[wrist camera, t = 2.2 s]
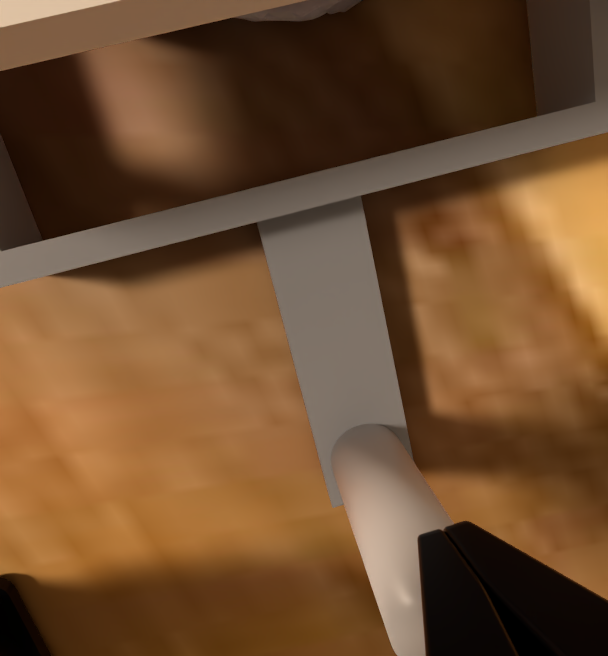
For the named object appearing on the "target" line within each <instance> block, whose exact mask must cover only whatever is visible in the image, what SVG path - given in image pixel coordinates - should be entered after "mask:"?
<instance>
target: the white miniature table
mask: <svg viewBox="0 0 608 656" xmlns="http://www.w3.org/2000/svg"><path fill="white" fill-rule="evenodd" d="M302 1H306V0H0V71H3V70H7V69H11V68H16V67H20V66H24V65H29V64H33V63H37V62H42V61H46V60H50V59H55V58H59V57H63V56H68V55H72V54H76V53H81V52H85V51H90V50H94V49H98V48H103V47H107V46H111V45H116V44H120V43H124V42H129V41H133V40H137V39H142V38H146V37H150V36H155V35H159V34H163V33H168V32H172V31H176V30H181V29H185V28H189V27H194V26H198V25H202V24H207V23H211V22H215V21H220V20H224V19H228V18H233V17H237V16H241V15H246V14H250V13H254V12H259V11H263V10H267V9H272V8H276V7H280V6H285V5H289V4H293V3H298V2H302Z"/></svg>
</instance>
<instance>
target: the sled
mask: <svg viewBox="0 0 608 656" xmlns="http://www.w3.org/2000/svg"><path fill="white" fill-rule="evenodd" d="M526 3H527V13H528V24H529V35H530V46H531V57H532V68H533V79H534V90H535V101H536V112H537V117H533V118H529V119H525V120H521V121H517V122H513V123H509V124H505V125H501V126H497V127H493V128H489V129H485V130H481V131H477V132H473V133H470V134H466V135H462V136H458V137H454V138H450V139H446V140H442V141H438V142H434V143H430V144H426V145H422V146H418V147H414V148H410V149H406V150H402V151H398V152H394V153H390V154H386V155H382V156H378V157H374V158H370V159H366V160H362V161H358V162H354V163H350V164H346V165H342V166H338V167H334V168H330V169H326V170H322V171H319V172H315V173H311V174H307V175H303V176H299V177H295V178H291V179H287V180H283V181H279V182H275V183H271V184H267V185H263V186H259V187H255V188H251V189H247V190H243V191H239V192H235V193H231V194H227V195H223V196H219V197H215V198H211V199H207V200H203V201H199V202H195V203H191V204H187V205H183V206H179V207H175V208H171V209H168V210H164V211H160V212H156V213H152V214H148V215H144V216H140V217H136V218H132V219H128V220H124V221H120V222H116V223H112V224H108V225H104V226H100V227H96V228H92V229H88V230H84V231H80V232H76V233H72V234H68V235H64V236H60V237H56V238H52V239H48V240H44V241H43V240H42V237H41V235H40V232H39V230H38V227H37V225H36V222H35V220H34V217H33V215H32V212H31V210H30V207H29V204H28V202H27V199H26V197H25V194H24V192H23V189H22V187H21V184H20V182H19V179H18V177H17V174H16V172H15V169H14V167H13V164H12V162H11V159H10V157H9V154H8V152H7V149H6V147H5V144H4V142H3V139H2V136H1V134H0V288H1V287H5V286H9V285H13V284H17V283H21V282H25V281H28V280H32V279H36V278H40V277H44V276H48V275H52V274H56V273H60V272H64V271H68V270H71V269H75V268H79V267H83V266H87V265H91V264H95V263H99V262H103V261H107V260H111V259H114V258H118V257H122V256H126V255H130V254H134V253H138V252H142V251H146V250H150V249H154V248H157V247H161V246H165V245H169V244H173V243H177V242H181V241H185V240H189V239H193V238H197V237H200V236H204V235H208V234H212V233H216V232H220V231H224V230H228V229H232V228H236V227H239V226H243V225H247V224H251V223H255V222H256V223H257V226H258V230H259V234H260V238H261V241H262V245H263V249H264V253H265V257H266V260H267V264H268V268H269V272H270V275H271V279H272V283H273V287H274V290H275V294H276V298H277V302H278V306H279V309H280V313H281V317H282V321H283V324H284V328H285V332H286V336H287V340H288V343H289V347H290V351H291V355H292V358H293V362H294V366H295V370H296V374H297V377H298V381H299V385H300V389H301V392H302V396H303V400H304V404H305V408H306V411H307V415H308V419H309V423H310V426H311V430H312V434H313V438H314V441H315V445H316V449H317V453H318V457H319V460H320V464H321V468H322V472H323V475H324V479H325V483H326V487H327V491H328V494H329V497H330V501H331V504H332V507H333V508H334V507H337V506H340V505H344V506H345V509H346V512H347V515H348V518H349V521H350V524H351V527H352V530H353V533H354V536H355V539H356V542H357V545H358V548H359V551H360V554H361V557H362V560H363V563H364V566H365V569H366V572H367V574H368V577H369V580H370V583H371V586H372V589H373V592H374V595H375V598H376V601H377V604H378V607H379V610H380V613H381V616H382V619H383V622H384V625H385V628H386V631H387V634H388V637H389V640H390V643H391V646H392V648H393V650H394V652H395V653H396V655H397V656H426V655H425V641H424V627H423V613H422V599H421V585H420V571H419V557H418V543H417V538H418V536H419V535H420V534H423V533H426V532H429V531H433V530H436V529H441V530H444V528H445V527H446V526H449V525H453V524H454V523H453V521H452V520H451V518H450V517H449V515H448V514H447V512H446V511H445V509H444V508H443V506H442V505H441V503H440V501H439V500H438V498H437V497H436V495H435V494H434V492H433V491H432V489H431V488H430V486H429V485H428V483H427V482H426V480H425V479H424V477H423V475H422V474H421V472H420V471H419V469H418V468H417V466H416V465H415V463H414V460H413V455H412V450H411V445H410V440H409V435H408V430H407V425H406V420H405V415H404V410H403V405H402V400H401V395H400V390H399V385H398V380H397V375H396V370H395V365H394V360H393V355H392V350H391V345H390V340H389V335H388V330H387V325H386V320H385V315H384V310H383V305H382V300H381V295H380V290H379V285H378V280H377V275H376V270H375V265H374V260H373V254H372V249H371V244H370V239H369V234H368V229H367V224H366V219H365V214H364V209H363V204H362V199H361V195H365V194H368V193H372V192H376V191H380V190H384V189H388V188H392V187H396V186H400V185H404V184H408V183H411V182H415V181H419V180H423V179H427V178H431V177H435V176H439V175H443V174H447V173H450V172H454V171H458V170H462V169H466V168H470V167H474V166H478V165H482V164H486V163H490V162H493V161H497V160H501V159H505V158H509V157H513V156H517V155H521V154H525V153H529V152H533V151H536V150H540V149H544V148H548V147H552V146H556V145H560V144H564V143H568V142H572V141H576V140H579V139H583V138H587V137H591V136H595V135H599V134H603V133H607V132H608V0H526Z"/></svg>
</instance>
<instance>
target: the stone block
mask: <svg viewBox="0 0 608 656" xmlns="http://www.w3.org/2000/svg"><path fill="white" fill-rule="evenodd" d="M361 1H363V0H306V1H302V2H298V3H293V4H289V5H285V6H280V7H276V8H272V9H267V10H263V11H259V12H254V13H250V14H246V15H241V16H237V17H234V18H240V19H246V20H249V21H253V22H255V21H306V20H312V19H315V18H318V17H320V16H322V15H324V14H326V13H329V14H334V13H337V12H346V11H347V10H349V9H350V8H352V7H353V6H355V5H356V4H358V3H359V2H361Z"/></svg>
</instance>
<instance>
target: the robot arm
mask: <svg viewBox="0 0 608 656" xmlns="http://www.w3.org/2000/svg"><path fill="white" fill-rule="evenodd" d="M417 543H418V557H419V571H420V585H421V599H422V613H423V627H424V641H425V655H426V656H608V600H606V599H605V598H603V597H601V596H599V595H598V594H596V593H594V592H592V591H591V590H589V589H587V588H585V587H584V586H582V585H580V584H578V583H577V582H575V581H573V580H571V579H570V578H568V577H566V576H564V575H563V574H561V573H559V572H557V571H556V570H554V569H552V568H550V567H548V566H547V565H545V564H543V563H541V562H540V561H538V560H536V559H534V558H533V557H531V556H529V555H527V554H526V553H524V552H522V551H520V550H519V549H517V548H515V547H513V546H512V545H510V544H508V543H506V542H505V541H503V540H501V539H499V538H498V537H496V536H494V535H492V534H491V533H489V532H487V531H485V530H484V529H482V528H480V527H478V526H477V525H475V524H473V523H471V522H469V521H462V522H459V523H456V524H453V525H449V526H446V527H445V528H444V530H441V529H436V530H433V531H429V532H426V533H423V534H420V535H419V536H418V538H417ZM0 656H51V655H50V653H49V651H48V649H47V647H46V645H45V644H44V642H43V640H42V638H41V636H40V634H39V632H38V630H37V628H36V626H35V624H34V623H33V621H32V619H31V617H30V615H29V613H28V611H27V609H26V607H25V605H24V603H23V602H22V600H21V598H20V596H19V594H18V592H17V590H16V588H15V586H14V585H13V584H12V583H11V582H10V581H8V580H6V579H2V578H0Z"/></svg>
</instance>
